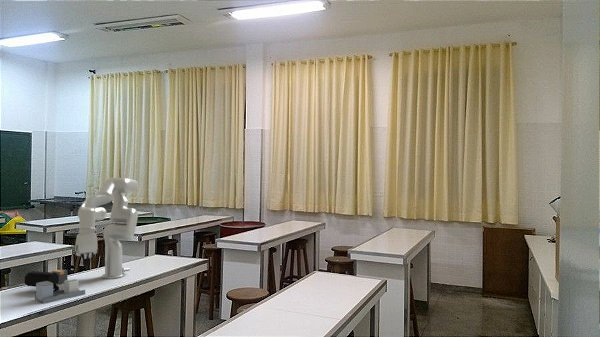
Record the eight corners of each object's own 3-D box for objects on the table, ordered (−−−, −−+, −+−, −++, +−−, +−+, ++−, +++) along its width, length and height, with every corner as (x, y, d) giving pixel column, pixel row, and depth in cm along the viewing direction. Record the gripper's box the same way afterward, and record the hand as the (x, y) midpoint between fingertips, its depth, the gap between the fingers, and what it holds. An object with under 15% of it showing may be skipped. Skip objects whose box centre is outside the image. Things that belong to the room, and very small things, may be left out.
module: (73, 290, 221) (73, 278, 221) (78, 292, 217) (78, 280, 217) (63, 292, 217) (64, 280, 217) (69, 294, 213) (69, 282, 213)
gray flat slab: (76, 290, 224) (76, 286, 224) (85, 294, 218) (85, 289, 218) (34, 299, 208) (34, 295, 208) (43, 303, 202) (43, 299, 202)
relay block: (60, 281, 242) (60, 269, 242) (67, 282, 240) (67, 270, 240) (52, 283, 238) (52, 271, 238) (59, 284, 235) (59, 272, 235)
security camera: (53, 294, 216) (53, 275, 216) (23, 292, 220) (23, 273, 220) (63, 291, 223) (63, 272, 223) (34, 288, 227) (34, 270, 227)
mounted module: (47, 295, 211) (47, 280, 211) (53, 298, 207) (53, 283, 207) (35, 298, 207) (36, 283, 207) (41, 300, 203) (42, 285, 203)
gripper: (97, 229, 231) (96, 262, 231) (69, 232, 219) (68, 267, 219) (104, 230, 227) (103, 264, 226) (75, 233, 215) (75, 269, 214)
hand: (86, 265), depth 223 cm, fingers closed
